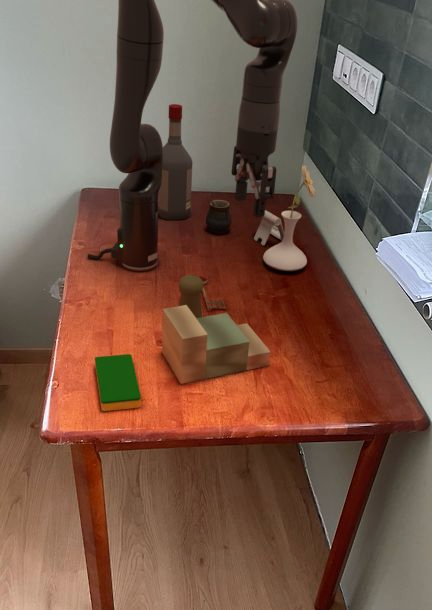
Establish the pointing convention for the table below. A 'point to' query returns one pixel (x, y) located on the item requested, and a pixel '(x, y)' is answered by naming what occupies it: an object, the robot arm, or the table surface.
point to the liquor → (175, 172)
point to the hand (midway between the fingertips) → (249, 208)
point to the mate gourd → (218, 216)
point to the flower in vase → (289, 236)
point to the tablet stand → (269, 228)
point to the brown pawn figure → (191, 293)
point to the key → (208, 304)
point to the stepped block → (209, 345)
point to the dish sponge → (117, 382)
